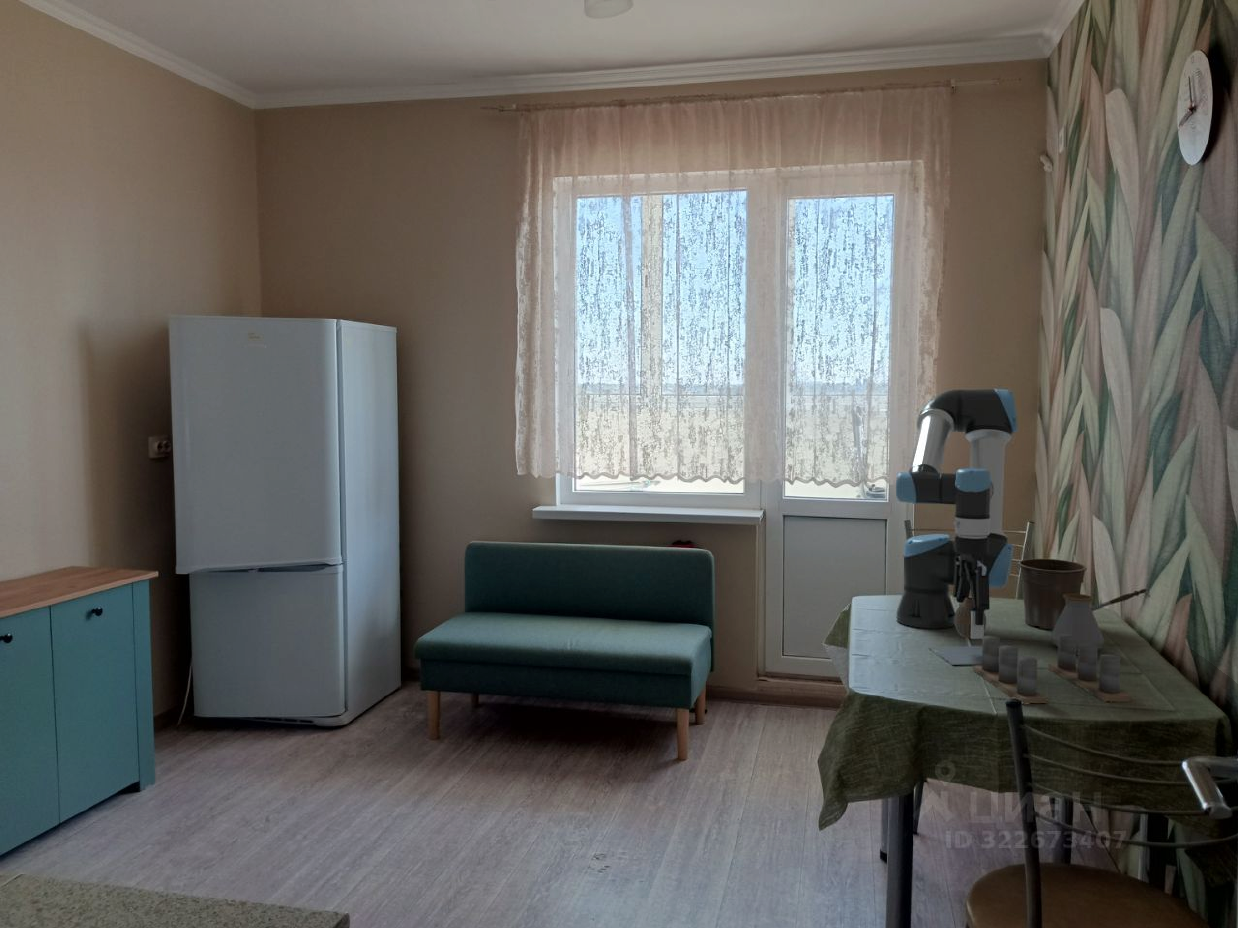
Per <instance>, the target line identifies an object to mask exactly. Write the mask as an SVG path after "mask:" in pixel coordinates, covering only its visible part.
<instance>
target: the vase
mask: <svg viewBox="0 0 1238 928" xmlns="http://www.w3.org/2000/svg"><path fill="white" fill-rule="evenodd" d="M971 608H973V602H972V596H969V597H967V598H965V600H964V601H963V603H962V604H961V605H960V606H959V607H958V609H956V611H955V617H954V623H955V625H954V627H955V629H956V631H957V633H958V634H959V635H960V636H961V637H963V638H970V639H971V610H970V609H971ZM985 613H986V612H984V631H985V630H986V627H987V616H986V614H985Z"/></svg>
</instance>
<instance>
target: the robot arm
mask: <svg viewBox="0 0 1238 928" xmlns="http://www.w3.org/2000/svg"><path fill="white" fill-rule="evenodd" d="M1017 421H1018V420H1017V410H1016V402H1015V396H1014V393H1013V391H1011V390H1009V389H997V388H994V389H993V388H991V389H989V388H988V389H986V388H985V389H982V388H981V389H951V390H947V391H944V392H942V393H939V394H937V395H936V396H934V397H933V398H931V400H930V401H928V402H927V403H926V404H925V405H924V406H923V408H922V409H921V410H920V412H919V414H918V417H917V422H916V427H917V430H918V433H917V438H916V441H915V445H914V449H913V453H912V457H911V459H910V460H911V461H910V465H909V469H908V471H904V472H899V473H898V474H897V476H896V483H895V495H896V499H897V501H898V502H900V503H908V504H910V503H911V504H928V505H930V504H931V505H932V504H933V505H953V506H954V505H955V513H954V522H952V523H953V526H954V533H955V534H956V535H955V536H954V540H952V538H951V536H950V535H949V534H947V533H945V534H944V533H934V534H933V533H932V534H931V533H930V534H923V535H917V536H912V537H910V538H908V539H906V541H905V542H904V548H903V549H904V550H903V554H902V557H903V593H902V596H901V599H900V601H899V604H898V607H897V609H896V618H895V619H897V620H896V622H898V623H899V622H900V624H901V623H902V624H901V625H904V624H905V626H907V625H909V626H908V627H912V626H913V627H912V628H918V627H920V629H947V628H951V627H955V623H954V617H955V613H956V611H955V608H954V604H953V602H952V599H951V598H952V597H951V595H950V594H951V593H950V591H951V590H950V587H951V586H953V588H952V589H953V591H952V592H953V593H952V596H953V598H955V601H956V603H957V606H956V607H957V609H958V607H959V606H960V605H961V604H962V603H963V601H964V600H965V598H967V597H970V594H971V597H972V602H973V608H971V609H970V610H971V638H970V639H972V640H979V639H980V640H982V637H983V636H985V630H984V613H985V611H989V610H990V605H991V604H990V589H1002V588H1004V587H1005V586H1006V585H1007V584H1008V582H1009V581H1008V580H1009V579H1010V578H1009V577H1010V573H1011V570H1012V562H1013V561H1012V560H1013V554H1014V545H1013V543H1010V542H1008V541H1009V540H1008V539H1009V538H1008V536H1007V534H1006V533H1005V532H1003V507H1004V484H1005V483H1004V482H1005V481H1004V479H1005V478H1004V477H1005V454H1006V453H1005V452H1006V444H1008V443H1009V442H1010V441H1011V440H1012V437H1013V436H1012V435H1013V434H1014V433H1017V432H1018V431H1019V430H1018V422H1017ZM956 432H957V433H965V434H964V435H965V436H964V437H965V439H966V440H967V441H968V442H969V443H970V453H969V455H970V457H969V458H970V459H969V468H968V467H967V468H959V469H958V470H957V471H956V473H947V472H946V473H944V472H942V467H943V463H944V458H945V452H946V448H947V443H948V438H949V436H950V435H951V434H952V433H956ZM941 472H942V473H941ZM970 592H971V593H970ZM957 609H956V610H957Z"/></svg>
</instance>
